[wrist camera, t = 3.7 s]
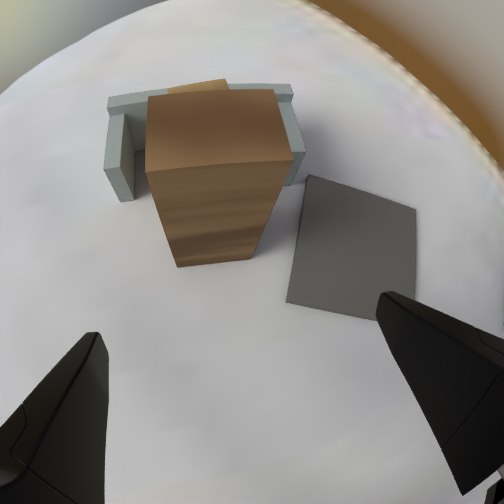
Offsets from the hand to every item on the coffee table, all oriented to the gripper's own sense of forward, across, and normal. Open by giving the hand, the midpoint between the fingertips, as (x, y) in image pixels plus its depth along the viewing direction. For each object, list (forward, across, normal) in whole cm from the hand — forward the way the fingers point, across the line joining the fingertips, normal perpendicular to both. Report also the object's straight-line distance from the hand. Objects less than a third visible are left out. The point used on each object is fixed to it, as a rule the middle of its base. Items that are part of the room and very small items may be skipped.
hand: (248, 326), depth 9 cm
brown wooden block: (+15, 0, +4) cm, 15 cm away
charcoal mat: (+13, -12, +6) cm, 18 cm away
